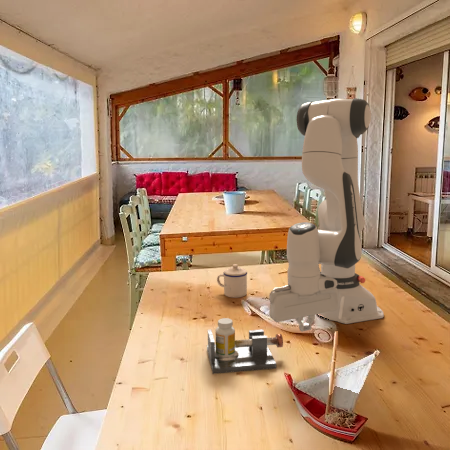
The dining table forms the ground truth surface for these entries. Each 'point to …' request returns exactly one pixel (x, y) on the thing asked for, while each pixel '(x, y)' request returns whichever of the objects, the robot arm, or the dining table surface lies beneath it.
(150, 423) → the dining table surface
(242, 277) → the teacup with lid
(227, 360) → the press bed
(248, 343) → the ram
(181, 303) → the dining table surface
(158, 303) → the dining table surface
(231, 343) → the supplement bottle
